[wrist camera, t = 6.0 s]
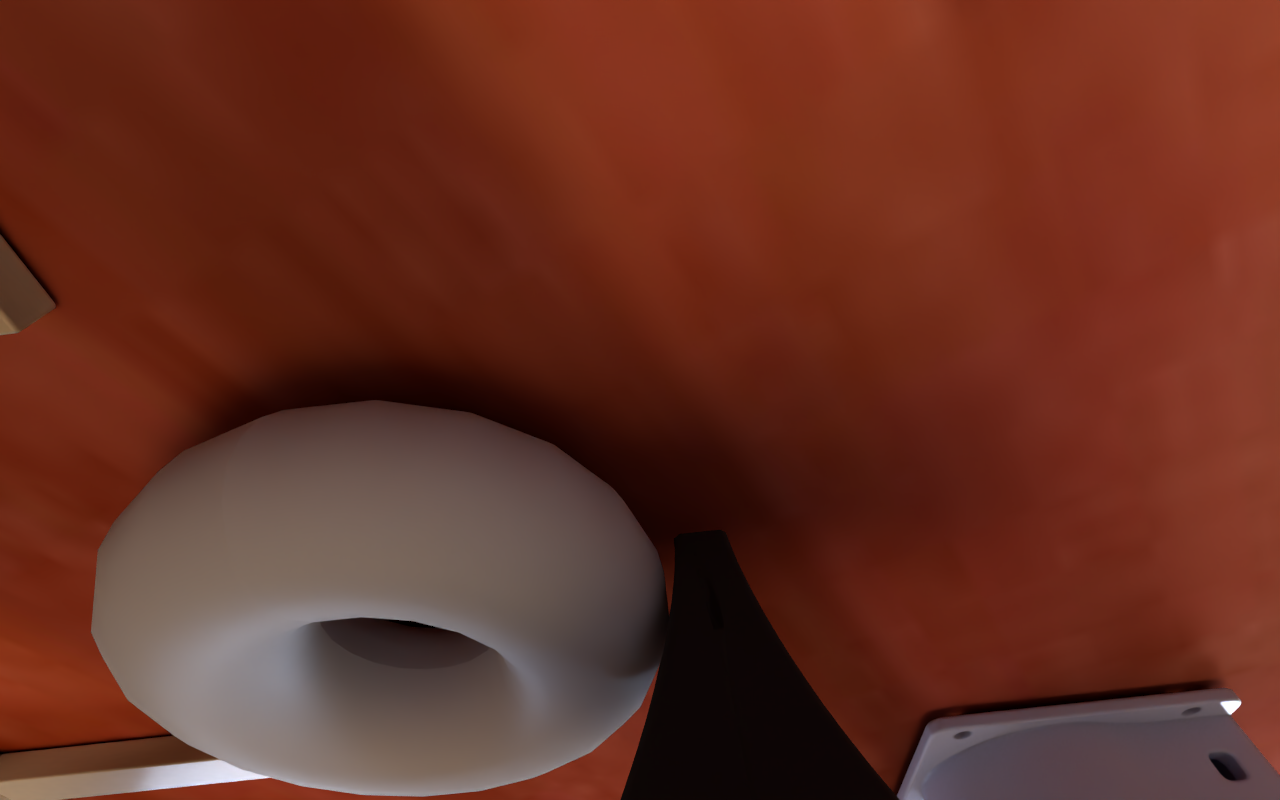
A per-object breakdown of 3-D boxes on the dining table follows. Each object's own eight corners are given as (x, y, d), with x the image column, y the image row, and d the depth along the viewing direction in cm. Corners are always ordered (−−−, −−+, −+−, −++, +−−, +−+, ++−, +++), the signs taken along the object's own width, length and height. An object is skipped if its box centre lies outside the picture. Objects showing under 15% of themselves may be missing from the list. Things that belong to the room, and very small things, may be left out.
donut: (430, 705, 17) (744, 583, 14) (395, 852, 14) (775, 740, 11) (59, 512, 12) (436, 245, 9) (-109, 687, 9) (354, 390, 6)
